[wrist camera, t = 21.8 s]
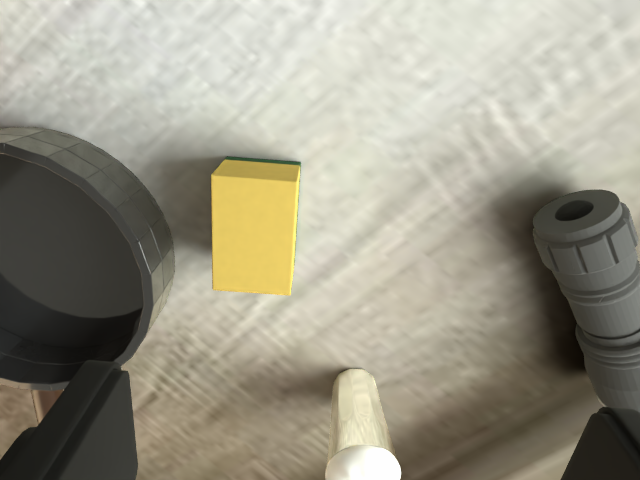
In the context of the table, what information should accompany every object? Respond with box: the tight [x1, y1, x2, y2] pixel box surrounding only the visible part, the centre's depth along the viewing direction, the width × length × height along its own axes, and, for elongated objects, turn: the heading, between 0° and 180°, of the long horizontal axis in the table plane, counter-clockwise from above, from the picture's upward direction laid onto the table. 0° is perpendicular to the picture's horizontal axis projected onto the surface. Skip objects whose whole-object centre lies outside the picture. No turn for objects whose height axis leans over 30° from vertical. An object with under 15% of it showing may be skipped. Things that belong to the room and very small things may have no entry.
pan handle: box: [31, 389, 63, 425], centre depth 33 cm, size 9×2×2 cm, turn 175°
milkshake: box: [325, 368, 401, 480], centre depth 31 cm, size 4×5×10 cm
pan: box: [0, 127, 175, 391], centre depth 29 cm, size 16×16×4 cm
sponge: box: [211, 156, 301, 295], centre depth 28 cm, size 7×5×4 cm, turn 175°
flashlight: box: [533, 190, 640, 413], centre depth 29 cm, size 15×5×5 cm, turn 29°
